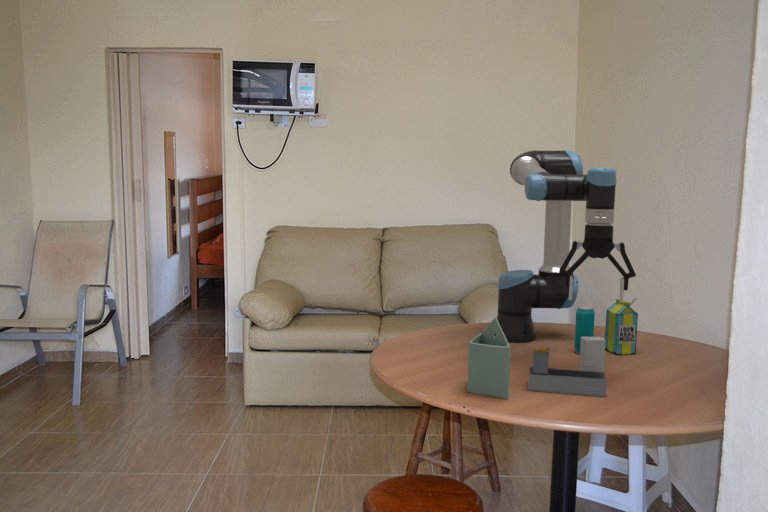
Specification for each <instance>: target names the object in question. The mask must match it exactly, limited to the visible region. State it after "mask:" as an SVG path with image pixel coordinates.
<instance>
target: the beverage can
mask: <svg viewBox="0 0 768 512" xmlns="http://www.w3.org/2000/svg"><path fill="white" fill-rule="evenodd" d="M595 315H596V314H595V308H594V306H589V305H578V306H577V308H576V311H575V328H574V329H575V330H574V350H575V353H576V354H578V355H580V346H581V337H595V335H594V333H595Z"/></svg>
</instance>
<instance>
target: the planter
mask: <svg viewBox="0 0 768 512" xmlns="http://www.w3.org/2000/svg"><path fill="white" fill-rule="evenodd" d="M495 333H496V338H495ZM511 349H512V348H511V346H510V342H508V341H507V339H506V337H505V335H504V333H503V331H502V329H501V326H500V324H499V322H498V320H497V317H494V318H493V319H492V320H491V322H489V324H488V325H487V326H486V327H484V328H483V330H482V331H480V332H479V334H478V335H476V336H475V337H474V338H473V339H471V340H470V341H469V342H468V356H467V358H468V362H467V389H466V390H467V391H468V392H467V391H466V392H467V393H469V392H471V393H470V394H474V393H476V395H481V396H487V397H492V396H493V398H499V399H504V400H505V399H506V400H509V398H510V379H511V378H510V377H511V374H510V372H511Z"/></svg>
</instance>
